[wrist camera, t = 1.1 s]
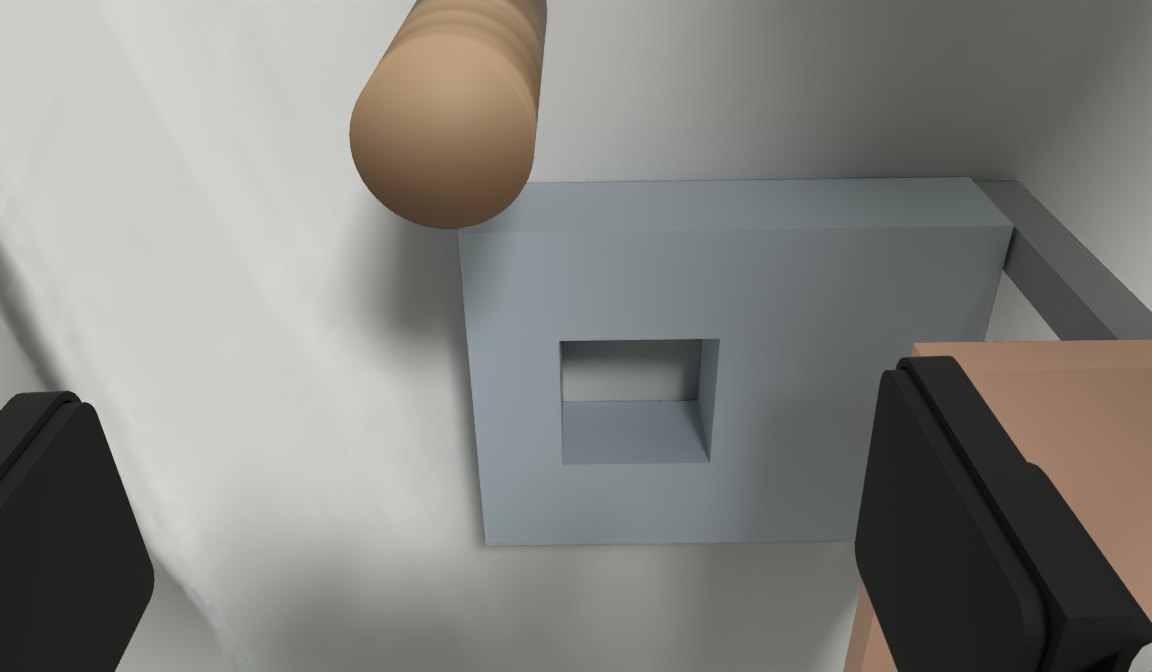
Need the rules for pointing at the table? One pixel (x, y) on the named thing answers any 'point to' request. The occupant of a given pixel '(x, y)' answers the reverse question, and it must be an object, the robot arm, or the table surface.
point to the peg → (453, 111)
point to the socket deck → (790, 359)
